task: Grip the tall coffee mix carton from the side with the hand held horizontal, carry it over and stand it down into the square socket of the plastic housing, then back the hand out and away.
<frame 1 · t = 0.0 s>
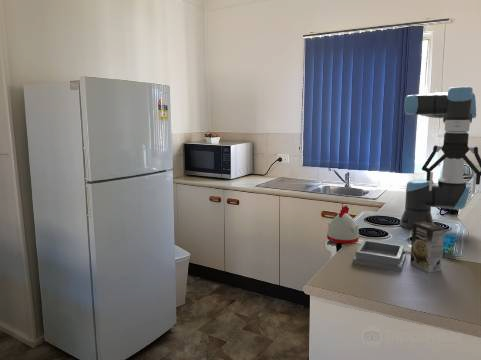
hand: (451, 191, 139), 28 cm above the worktop, tool pointing down, fingers open, 13 cm apart
kitchen timer: (342, 238, 176), on the worktop
coffee box: (425, 267, 143), on the worktop
gear: (444, 253, 157), on the worktop
housing: (379, 259, 150), on the worktop
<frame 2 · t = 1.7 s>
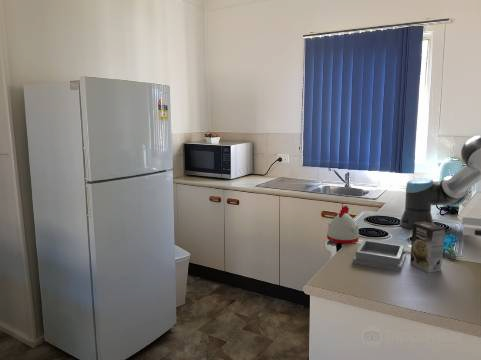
hand: (462, 225, 135), 18 cm above the worktop, tool horizontal, fingers open, 13 cm apart
nothing on the worktop moved.
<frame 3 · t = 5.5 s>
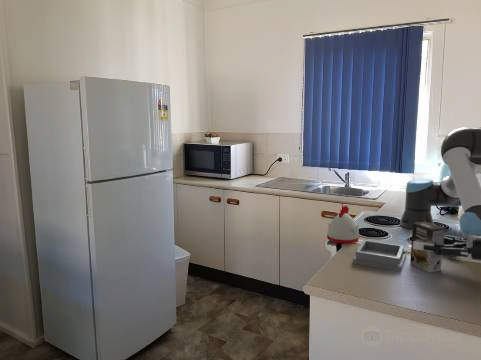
hand: (414, 240, 143), 10 cm above the worktop, tool horizontal, fingers closed on coffee box, 10 cm apart
coffee box: (425, 267, 143), on the worktop, touching gripper
everything else where it was.
when the fingers open (13 cm above the worktop, at t = 10.9 s): coffee box drops 2 cm, resting on housing.
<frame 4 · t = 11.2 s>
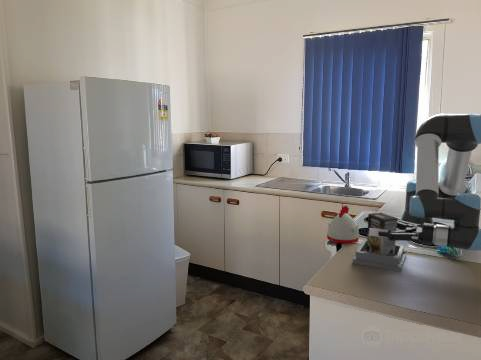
hand: (372, 226, 150), 13 cm above the worktop, tool horizontal, fingers open, 13 cm apart
coffee box: (380, 256, 150), point 1 cm above the worktop, touching housing
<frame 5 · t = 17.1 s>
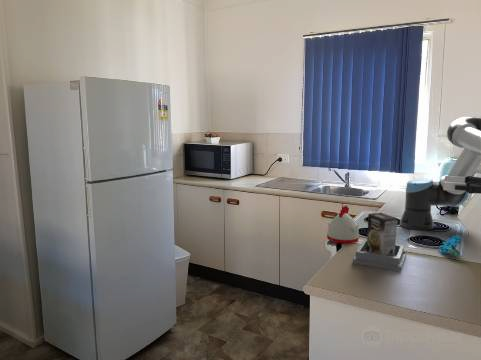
hand: (443, 182, 136), 32 cm above the worktop, tool horizontal, fingers open, 13 cm apart
at the end: coffee box inside the target area on the housing (0.1 cm from its centre), point 1.3 cm above the housing's base; coffee box tilted 0°; the gripper is holding nothing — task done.
